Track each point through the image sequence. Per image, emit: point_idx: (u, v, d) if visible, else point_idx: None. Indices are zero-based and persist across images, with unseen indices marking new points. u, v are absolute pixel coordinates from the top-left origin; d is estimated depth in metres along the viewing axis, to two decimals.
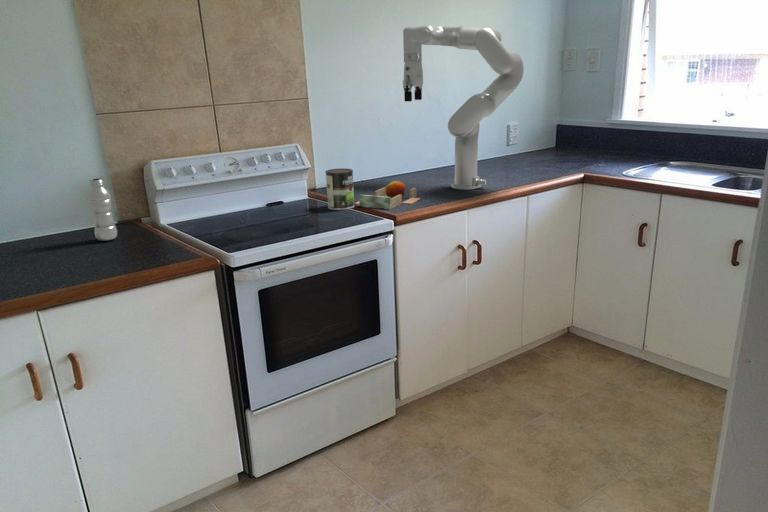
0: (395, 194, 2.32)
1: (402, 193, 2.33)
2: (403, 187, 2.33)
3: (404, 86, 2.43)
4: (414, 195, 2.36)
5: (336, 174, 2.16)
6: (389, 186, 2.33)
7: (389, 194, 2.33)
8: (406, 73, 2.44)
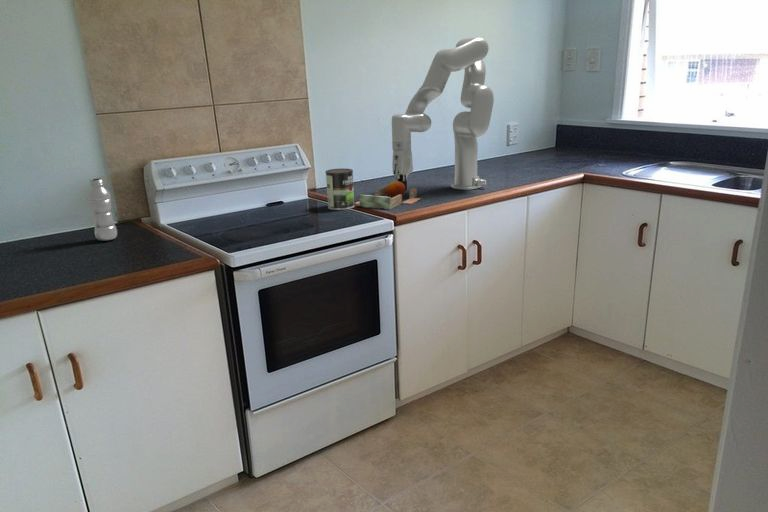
0: (395, 194, 2.32)
1: (402, 193, 2.33)
2: (403, 187, 2.33)
3: (398, 178, 2.37)
4: (414, 195, 2.36)
5: (336, 174, 2.16)
6: (389, 186, 2.33)
7: (389, 194, 2.33)
8: (395, 162, 2.33)
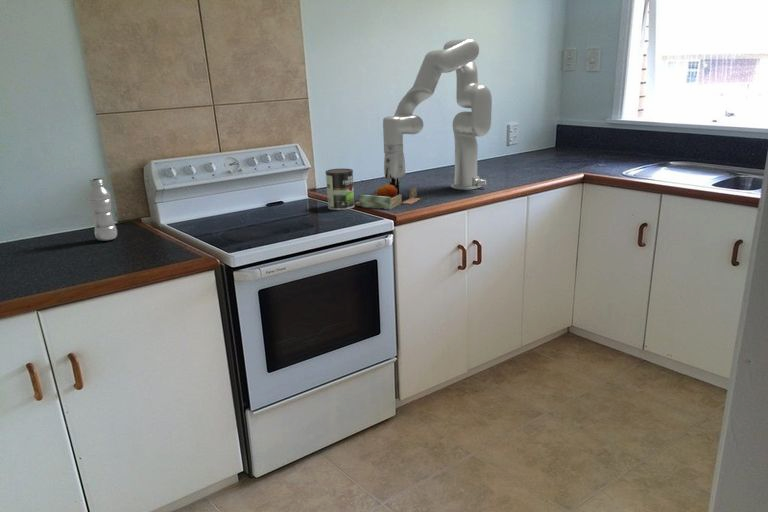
0: None
1: None
2: (394, 191, 2.27)
3: (390, 182, 2.31)
4: (414, 195, 2.36)
5: (336, 174, 2.16)
6: (380, 189, 2.26)
7: None
8: (387, 166, 2.27)
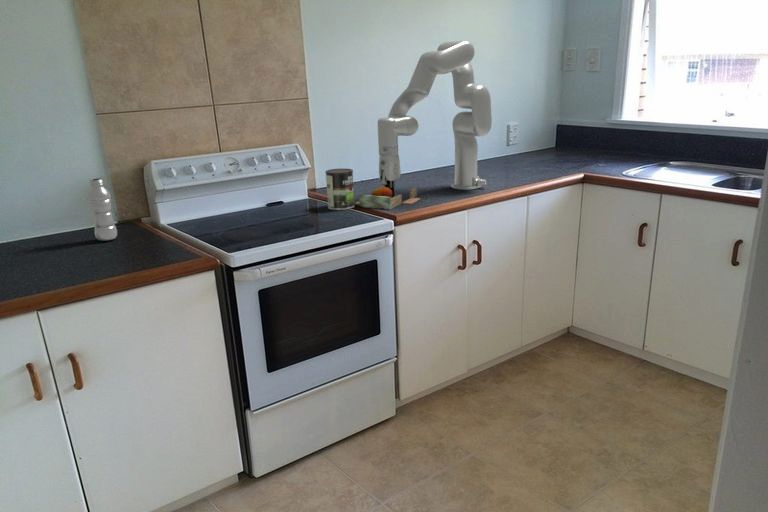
0: None
1: None
2: (389, 193, 2.23)
3: (385, 184, 2.27)
4: (414, 195, 2.36)
5: (336, 174, 2.16)
6: (375, 192, 2.23)
7: None
8: (382, 168, 2.24)
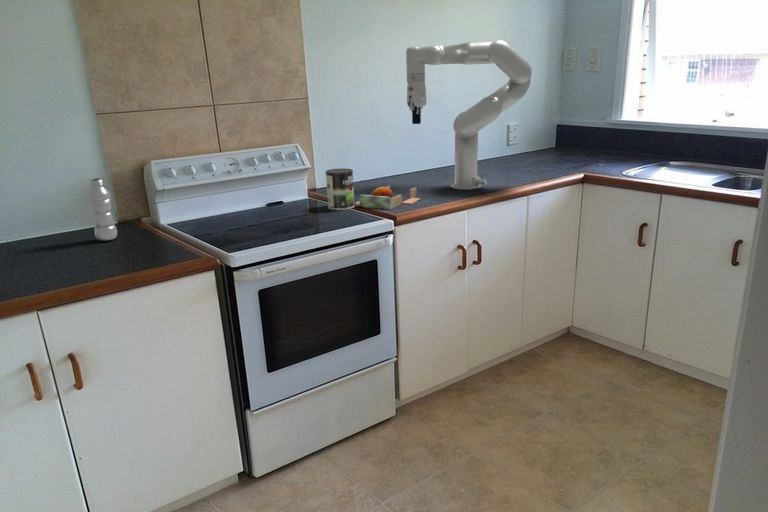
0: None
1: None
2: (389, 193, 2.23)
3: (412, 110, 2.43)
4: (414, 195, 2.36)
5: (336, 174, 2.16)
6: (375, 192, 2.23)
7: None
8: (410, 94, 2.40)
